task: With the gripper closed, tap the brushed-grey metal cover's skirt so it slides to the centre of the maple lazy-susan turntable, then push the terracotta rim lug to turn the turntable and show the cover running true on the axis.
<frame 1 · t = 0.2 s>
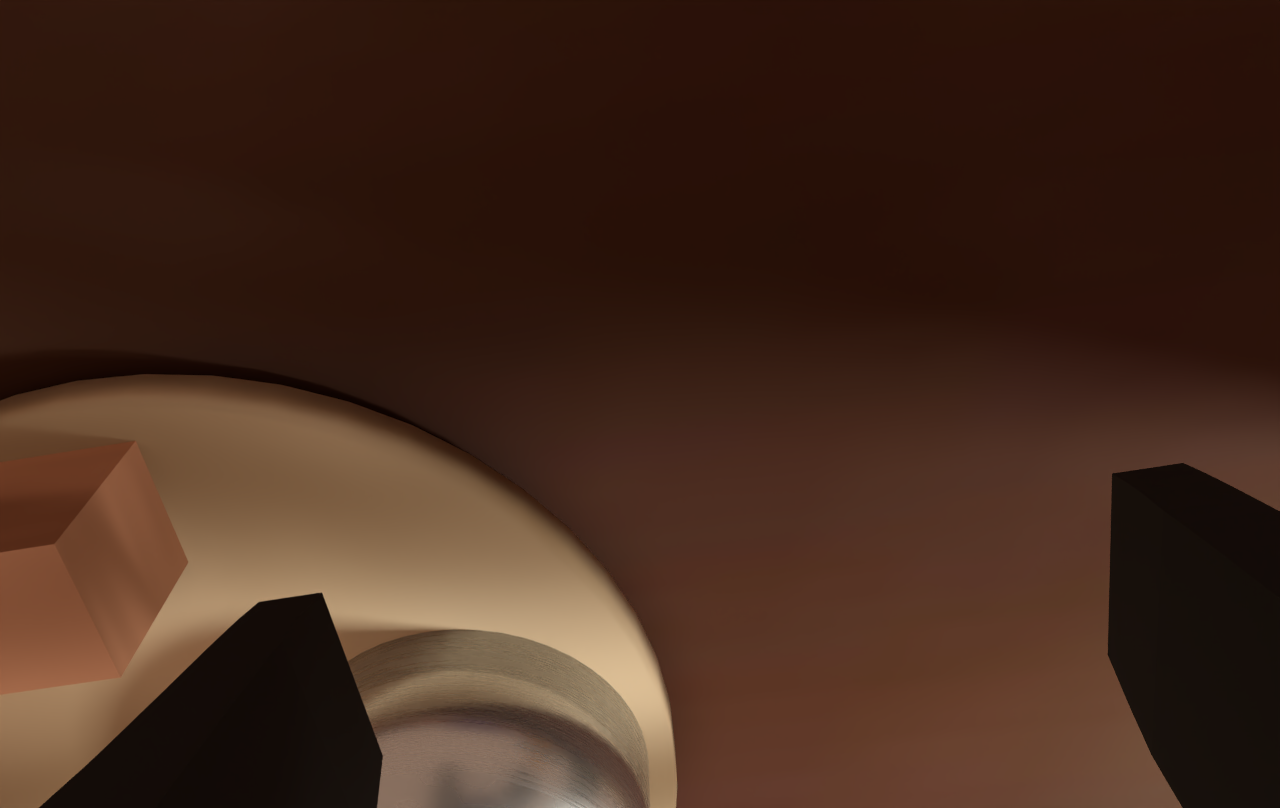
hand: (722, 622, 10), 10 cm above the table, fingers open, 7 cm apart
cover: (472, 769, 22), point 2 cm above the table, touching turntable
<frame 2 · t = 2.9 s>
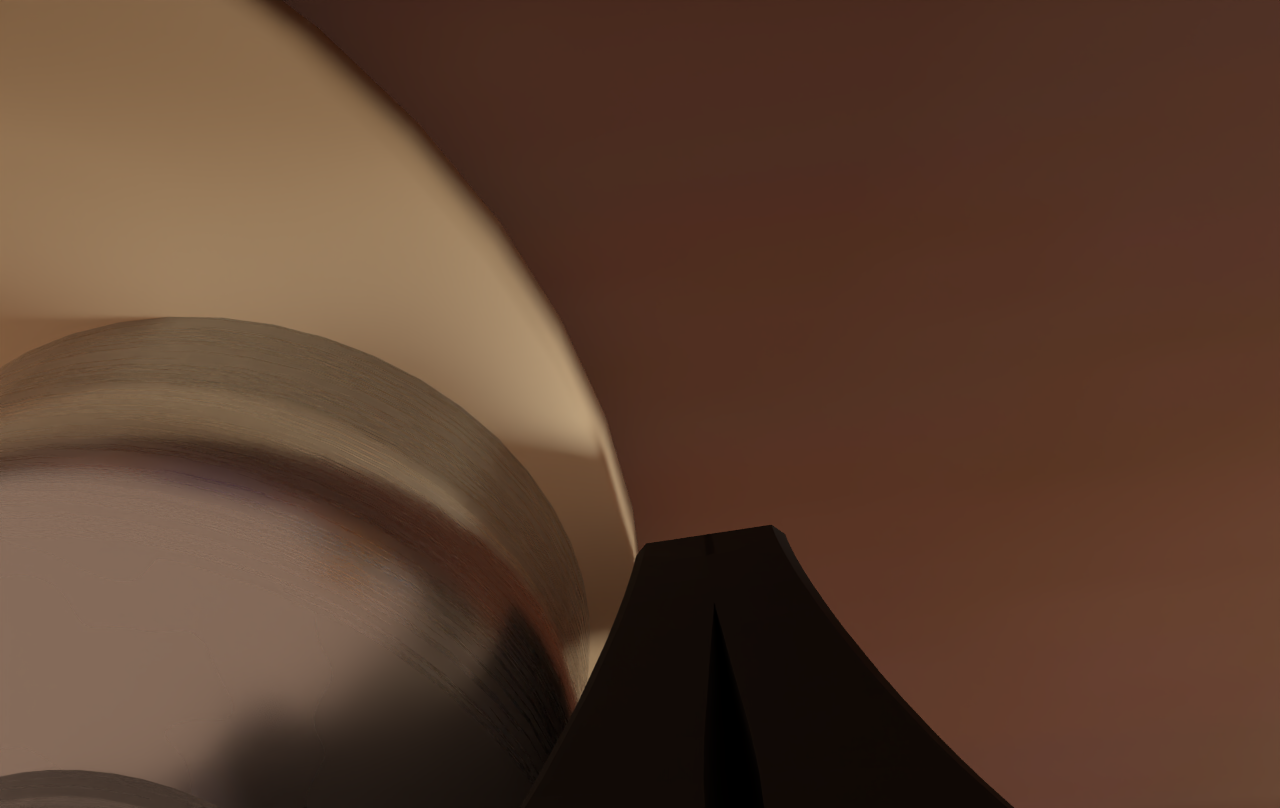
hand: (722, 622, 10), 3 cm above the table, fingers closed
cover: (250, 630, 12), point 2 cm above the table, touching gripper, turntable
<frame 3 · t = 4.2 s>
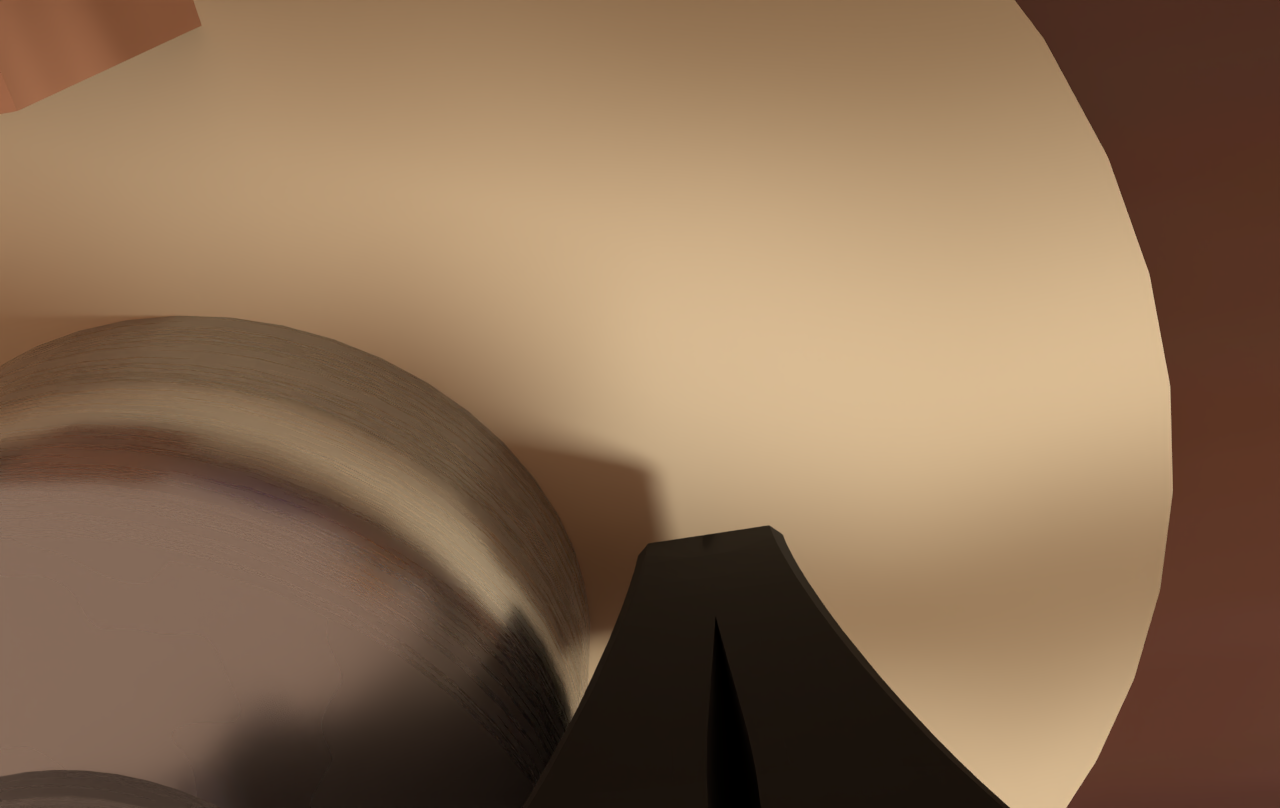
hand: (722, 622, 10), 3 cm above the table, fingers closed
turntable: (253, 683, 11), point 2 cm above the table, hinge at 0.0°, touching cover
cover: (250, 630, 12), point 2 cm above the table, touching gripper, turntable
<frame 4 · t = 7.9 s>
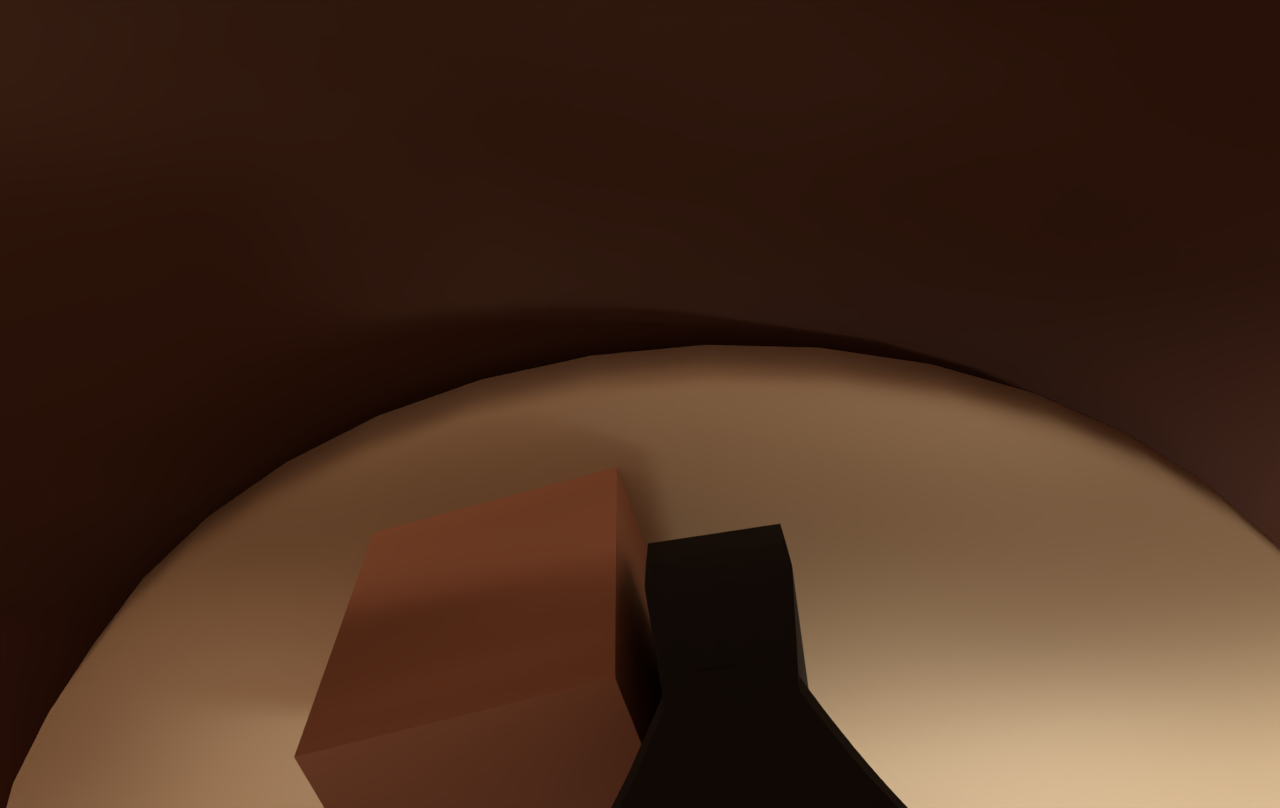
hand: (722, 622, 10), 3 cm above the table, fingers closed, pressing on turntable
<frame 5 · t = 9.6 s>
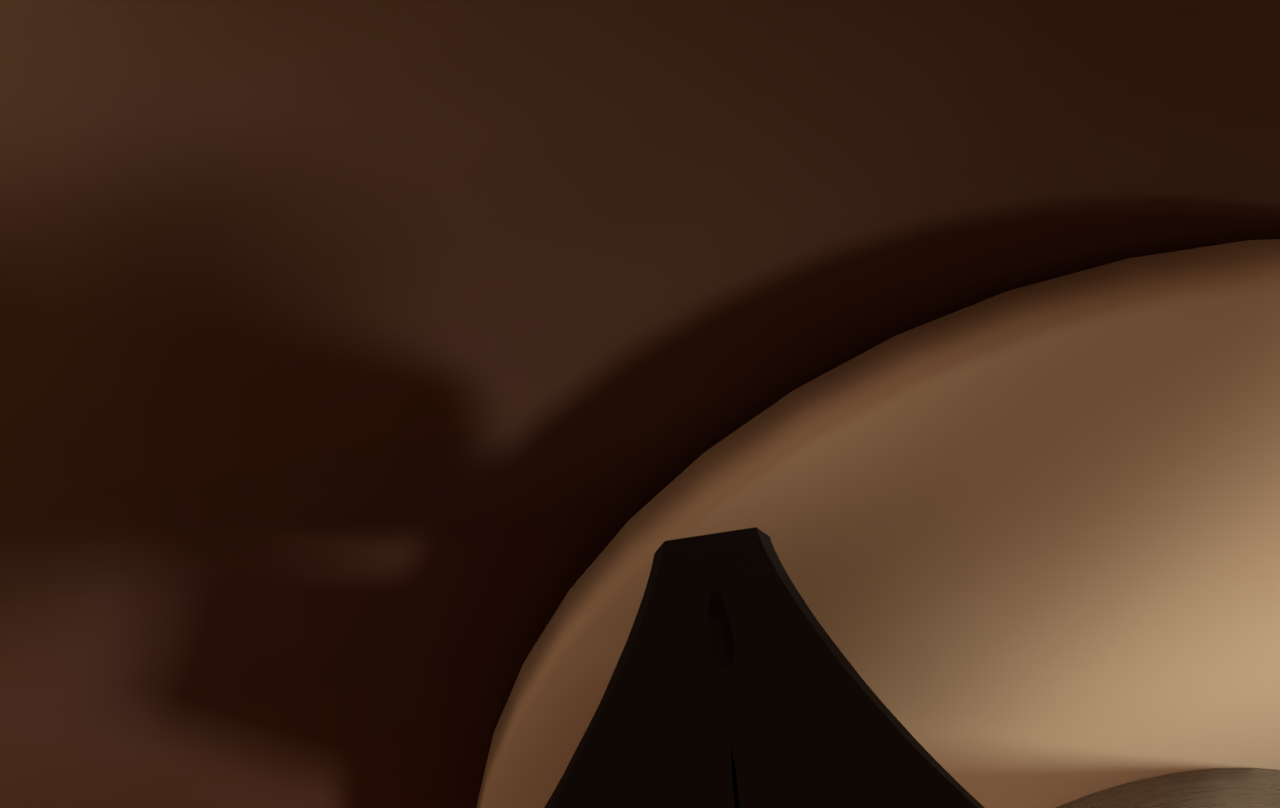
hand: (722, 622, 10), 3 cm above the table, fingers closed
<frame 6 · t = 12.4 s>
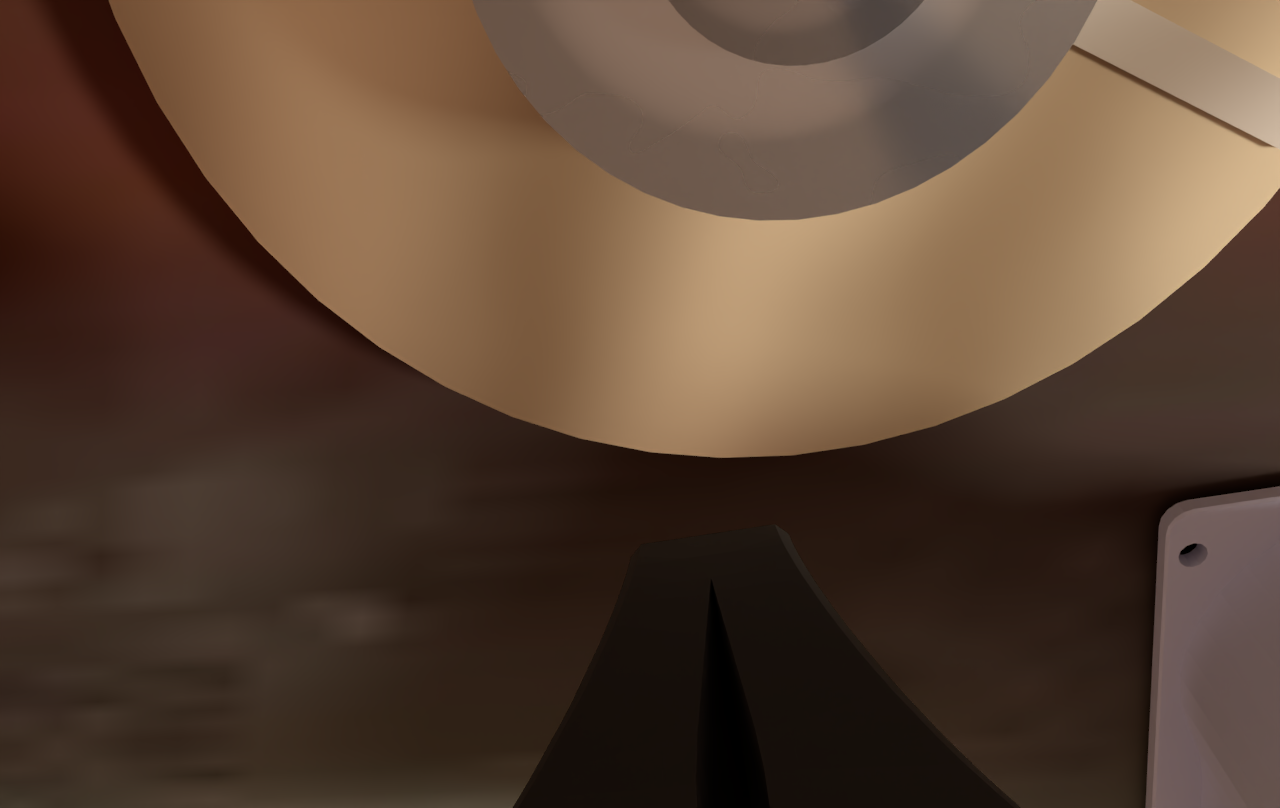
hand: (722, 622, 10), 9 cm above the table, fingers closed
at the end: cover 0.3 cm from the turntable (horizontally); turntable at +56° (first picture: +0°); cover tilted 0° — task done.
